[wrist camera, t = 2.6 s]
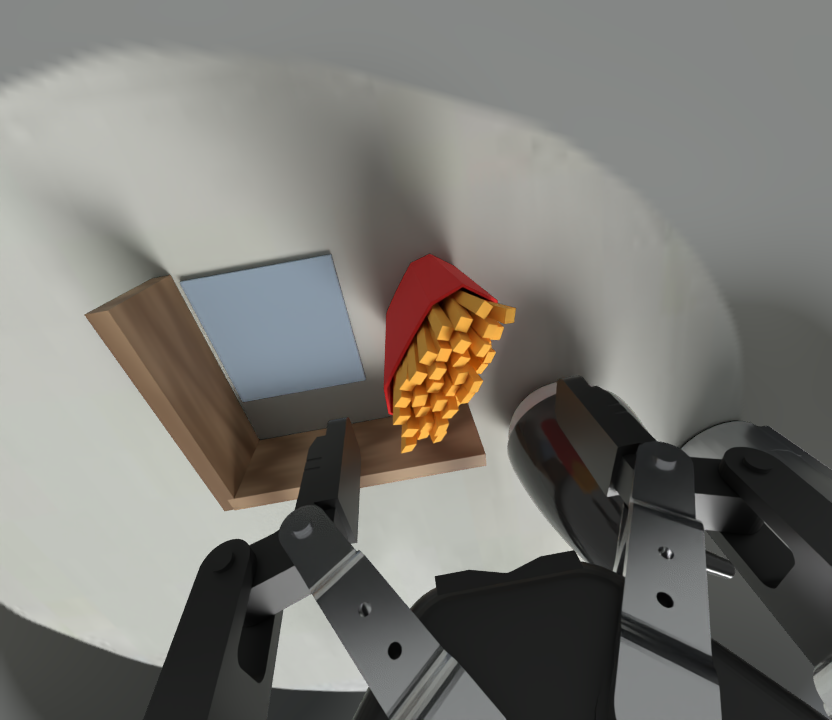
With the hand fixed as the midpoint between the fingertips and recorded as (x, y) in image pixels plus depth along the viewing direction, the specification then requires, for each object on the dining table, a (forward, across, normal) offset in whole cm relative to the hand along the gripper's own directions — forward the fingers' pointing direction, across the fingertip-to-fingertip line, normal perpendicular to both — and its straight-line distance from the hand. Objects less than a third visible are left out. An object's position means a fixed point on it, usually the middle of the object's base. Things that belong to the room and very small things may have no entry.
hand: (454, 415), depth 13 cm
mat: (+13, +10, +1) cm, 17 cm away
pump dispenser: (+13, -10, +13) cm, 21 cm away
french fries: (+14, 0, 0) cm, 14 cm away
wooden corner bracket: (+13, +7, +4) cm, 16 cm away
